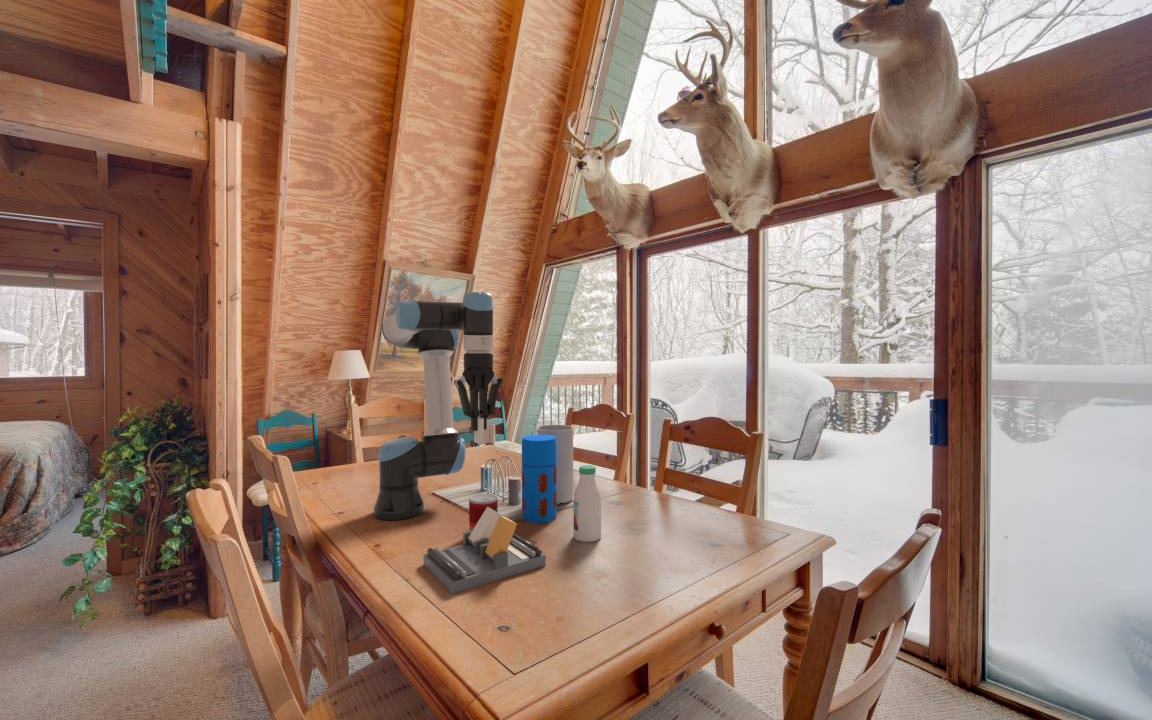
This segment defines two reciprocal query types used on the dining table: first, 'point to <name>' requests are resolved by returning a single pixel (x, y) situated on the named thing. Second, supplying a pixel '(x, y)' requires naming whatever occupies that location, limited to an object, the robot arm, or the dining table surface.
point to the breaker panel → (481, 562)
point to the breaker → (484, 526)
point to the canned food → (480, 507)
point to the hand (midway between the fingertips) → (479, 442)
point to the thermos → (539, 478)
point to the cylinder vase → (562, 459)
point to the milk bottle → (587, 506)
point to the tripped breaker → (500, 536)
